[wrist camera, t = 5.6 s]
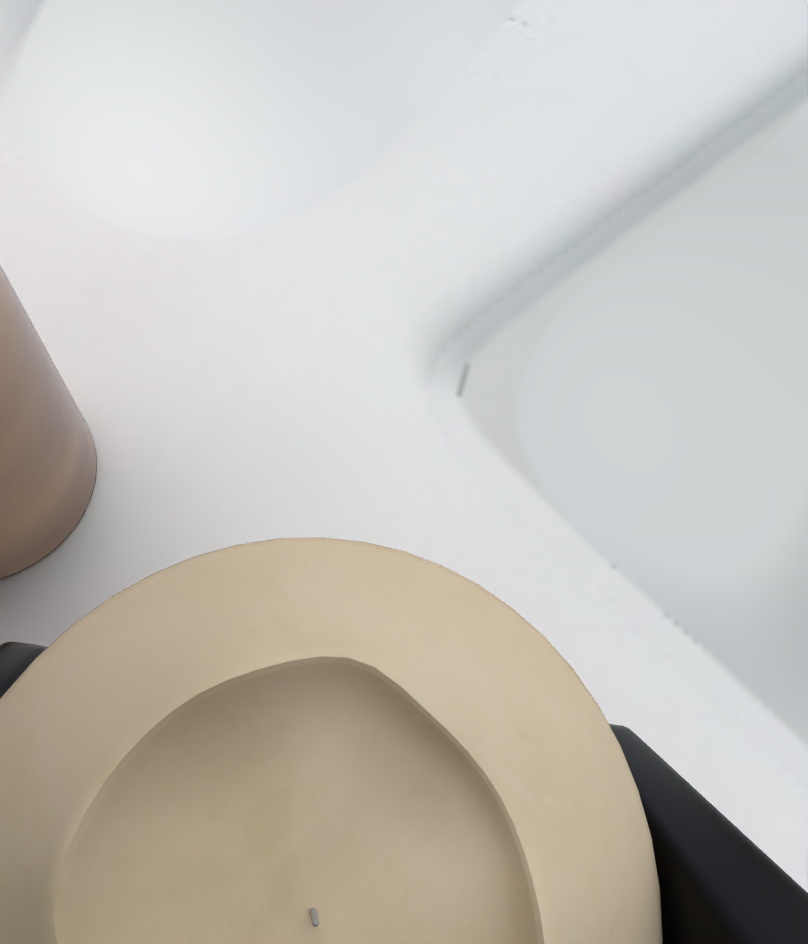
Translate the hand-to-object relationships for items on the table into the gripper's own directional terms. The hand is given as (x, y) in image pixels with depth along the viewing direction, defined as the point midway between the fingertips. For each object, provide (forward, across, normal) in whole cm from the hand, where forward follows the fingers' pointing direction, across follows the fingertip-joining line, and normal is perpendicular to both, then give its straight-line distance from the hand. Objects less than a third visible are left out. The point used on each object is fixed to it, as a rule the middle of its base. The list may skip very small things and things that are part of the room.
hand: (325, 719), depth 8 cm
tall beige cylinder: (+9, +8, +3) cm, 13 cm away
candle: (+4, 0, +6) cm, 7 cm away
